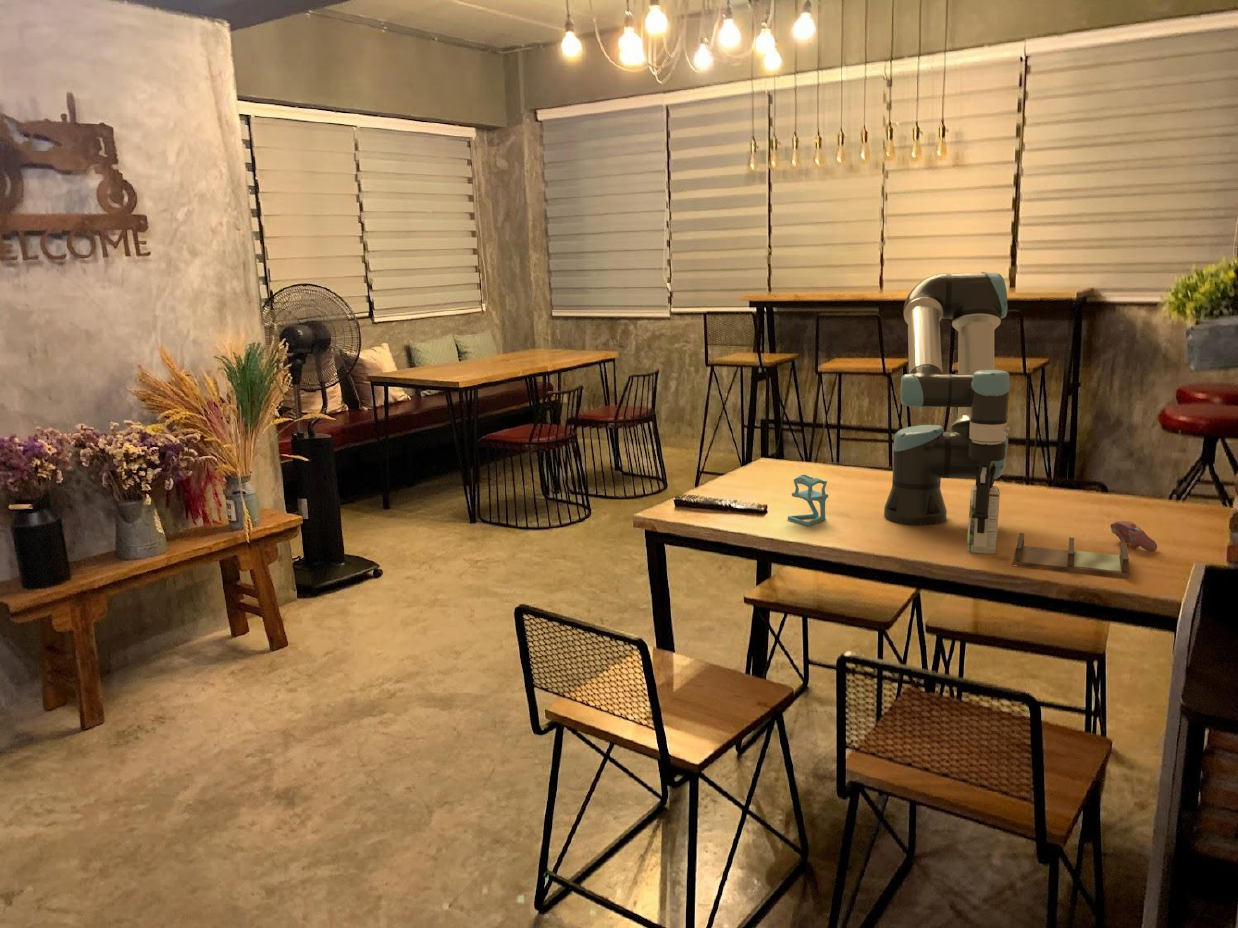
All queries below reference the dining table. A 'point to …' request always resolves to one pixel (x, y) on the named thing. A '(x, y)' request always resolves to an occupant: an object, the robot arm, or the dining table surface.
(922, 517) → the robot arm
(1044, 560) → the slot rack
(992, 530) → the syrup box
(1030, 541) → the dining table surface
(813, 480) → the chair
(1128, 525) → the video game controller
